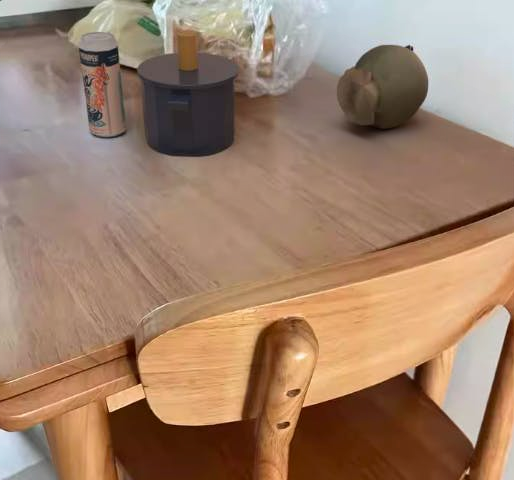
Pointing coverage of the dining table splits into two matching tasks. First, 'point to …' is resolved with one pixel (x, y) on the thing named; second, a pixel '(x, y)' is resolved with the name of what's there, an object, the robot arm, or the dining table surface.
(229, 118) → the pot
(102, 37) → the beer can
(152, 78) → the lid
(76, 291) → the dining table surface
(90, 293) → the dining table surface
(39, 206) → the dining table surface
